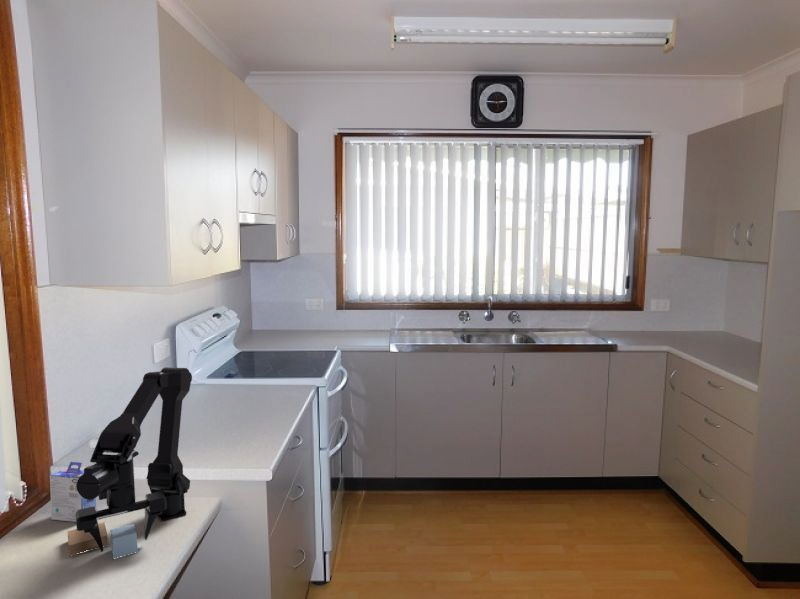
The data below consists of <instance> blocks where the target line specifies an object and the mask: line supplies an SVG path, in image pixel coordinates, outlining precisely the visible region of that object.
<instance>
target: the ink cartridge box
mask: <svg viewBox="0 0 800 599" xmlns="http://www.w3.org/2000/svg"><path fill="white" fill-rule="evenodd" d="M82 464H83V462H77V461H76V462H75V461H70V462H69V465H68V467H67V468H64V469H61V470H59V471H57V472H55V473H52V474H50V475H49V488H50V510H51V511H50V512H51V514H50V515H51V517H50V518H51V520H52V521H64V522H73V523H76V515H75V513H76V512H77V511H78V510H80V509H85V508H89V507H93V506H95V510H96V511H97V497H96V498H94V499H91V500H88V499H85V498H83V497H82V496H81V495H80V494H79V493H78V491H77V487H76V484H77V481H78V479H79V477H80V476H81V475H83V474H84V469H81V468H82ZM72 466H78V467H76V468H75V467H72Z"/></svg>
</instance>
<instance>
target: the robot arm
mask: <svg viewBox="0 0 800 599" xmlns="http://www.w3.org/2000/svg"><path fill="white" fill-rule="evenodd" d="M192 379H193V375H192V373H191V371H190V370H189V369H188V368H187V367H163V368H162V369H161V370H160V371H149V372H147V373H145V374H144V375H143V376H142V382H141V384H140V385H139V387H138V388H137V390H136V391H135V393H134V394H133V396H132V397H131V399H130V401H129V402H128V404H127V405H126V406H125V409H124V410H123V412H122V413H121V414H120V416H118V417H117V418H115V419H114V420H111V421H110V422H109V423H108V425H106V426H105V427H104V429H103V430H102V431H101V433H100V435H99V437H98V439H97V441H96V444H95V447H94V450H93V453H92V455H91V457H90V460H89V462H90V463H92V465H88V466H86V467H84V469H83V470H84V474H83V475H81V476H80V477H79V479H78V481H77V484H76V487H77V491H78V493H79V494H80V495H81V496H82V497H83V498H85V499H88V500H91V499H94V498H96V499H97V498H98V500H99V501H101V500H106V506H107V508H104V509H100V510H97V509H96V510H95V506H93V507H89V508H85V509H80V510H78V511H77V512H76V513H75V515H76V522H75V524H76V525H75V526H76V529H77V531H82V530H84V533H88V532H89V533H90V534H91V535H92V536H93V538H94V539H95V541H96V542H97V544H98V546H99V550H100V552H101V553H102V552H104V547H103V544H102V539H101V535H100V530H99V526H98V524H99V522H98V520H102V519H107V518H112V517H116V516H119V515H122V514H127V513H132V512H135V511H139V510H143V509H144V523H143V524H144V525H143V538H144V541H147V540H148V537H149V535H150V532H151V529H152V527H153V524H154V523H155V521H156V518H157V517H158V518H159V520H160V521H161V522H162V521H166V520H169V519H174V518H178V517H181V516H186V515H187V511H186V509H185V507H186V505H185V504H186V503H185V494H187V493H188V490H190V487H191V480H190V479H189V477H188V476H186V475H184V465H183V463H182V460H181V459H180V457H179V455H178V454H179V453H178V452H179V442H180V429H181V420H182V409H183V400H184V399H185V398H186V396H187V395H188V393H189V392H190V389H191V384H192ZM158 396H160V398H161V400H162V404H161V412H160V413H161V415H160V423H159V424H160V426H159V437H158V446H157V455H156V457H155V459H154V460H153V461H152V462H149V464H148V465H147V475H146V481H147V485H148V488H149V490H150V493H147V494H145V499H142V500H139V501H136V488H135V485H136V484H135V471H134V458H135V457H137V456H138V455H139V454H140V453H139V452H138V450H135V448H136V447H137V444H138V442H139V440H140V439H141V435H142V432H141V426H142V423H143V422H144V419H145V418H146V417H147V415H148V413H149V411H150V410H151V408H152V407H153V405H154V403H155V401H156V400H157V398H158ZM105 453H106V454H105ZM108 453H110V454H108ZM93 463H94V464H93Z"/></svg>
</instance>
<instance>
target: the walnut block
mask: <svg viewBox="0 0 800 599" xmlns="http://www.w3.org/2000/svg"><path fill="white" fill-rule="evenodd" d="M98 526H99V530H100V535H101V539H102V544H103V546H106V547H108V546H109V538H108V537H109V536H108V532H107V528H106V524H105V521H104V522H98ZM67 543H68V544H67V545H68V554H69V555H68V556H69V557H72V556H76V555H78V554H77V553H80V552H84V551H86V550H91V549H95V548H99V546H98V544H97V542H96V541H95V539H94V538H93V536H92V535H91V534H90V533H89V532H88V533H84V530H82V531H77V528H76V529H71V530H67ZM107 545H108V546H107ZM99 549H100V548H99ZM95 550H96V549H95ZM91 551H92V550H91ZM84 553H85V552H84ZM75 554H76V555H75ZM80 554H81V553H80ZM71 555H72V556H71Z"/></svg>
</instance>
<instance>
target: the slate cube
mask: <svg viewBox="0 0 800 599" xmlns="http://www.w3.org/2000/svg"><path fill="white" fill-rule="evenodd" d="M110 546H111V547H110V548H111V553H113V554H112V557H114V558H117V557H120V556H124V555H128V554H131V553H135V552H138V549H139V548H138V535H137V530H136V526H135V524H133V523H132V524H129V525H124V526H119V527H117V528H113V529H110ZM138 553H139V552H138ZM128 556H129V555H128ZM114 558H113V559H114Z"/></svg>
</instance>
